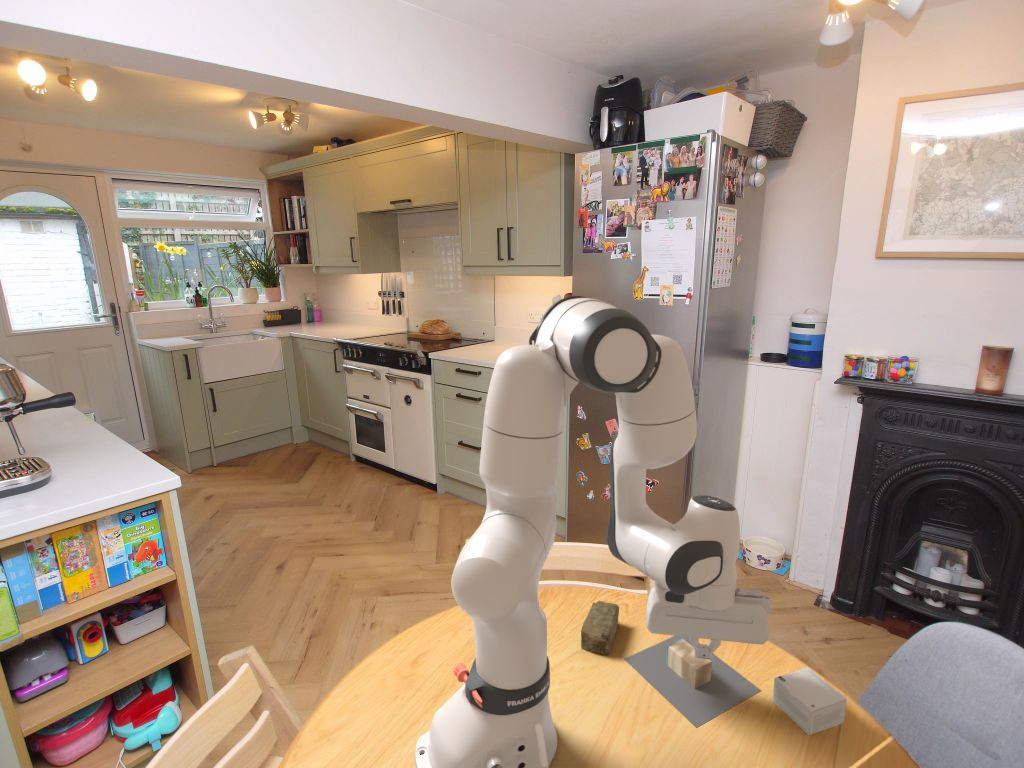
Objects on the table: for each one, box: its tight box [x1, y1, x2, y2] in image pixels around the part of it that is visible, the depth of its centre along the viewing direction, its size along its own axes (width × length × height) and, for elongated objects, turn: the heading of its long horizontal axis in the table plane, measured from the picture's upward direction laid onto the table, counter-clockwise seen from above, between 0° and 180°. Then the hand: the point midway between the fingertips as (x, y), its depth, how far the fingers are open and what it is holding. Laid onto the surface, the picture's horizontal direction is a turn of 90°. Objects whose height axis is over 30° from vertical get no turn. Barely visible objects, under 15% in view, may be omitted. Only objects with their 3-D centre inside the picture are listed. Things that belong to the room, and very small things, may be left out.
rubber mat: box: [623, 635, 762, 729], centre depth 97 cm, size 16×18×1 cm
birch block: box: [666, 639, 712, 689], centre depth 97 cm, size 4×4×7 cm
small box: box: [772, 666, 848, 736], centre depth 89 cm, size 8×8×5 cm
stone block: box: [580, 600, 620, 656], centre depth 108 cm, size 6×12×5 cm, turn 158°
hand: (703, 656), depth 94 cm, fingers closed
